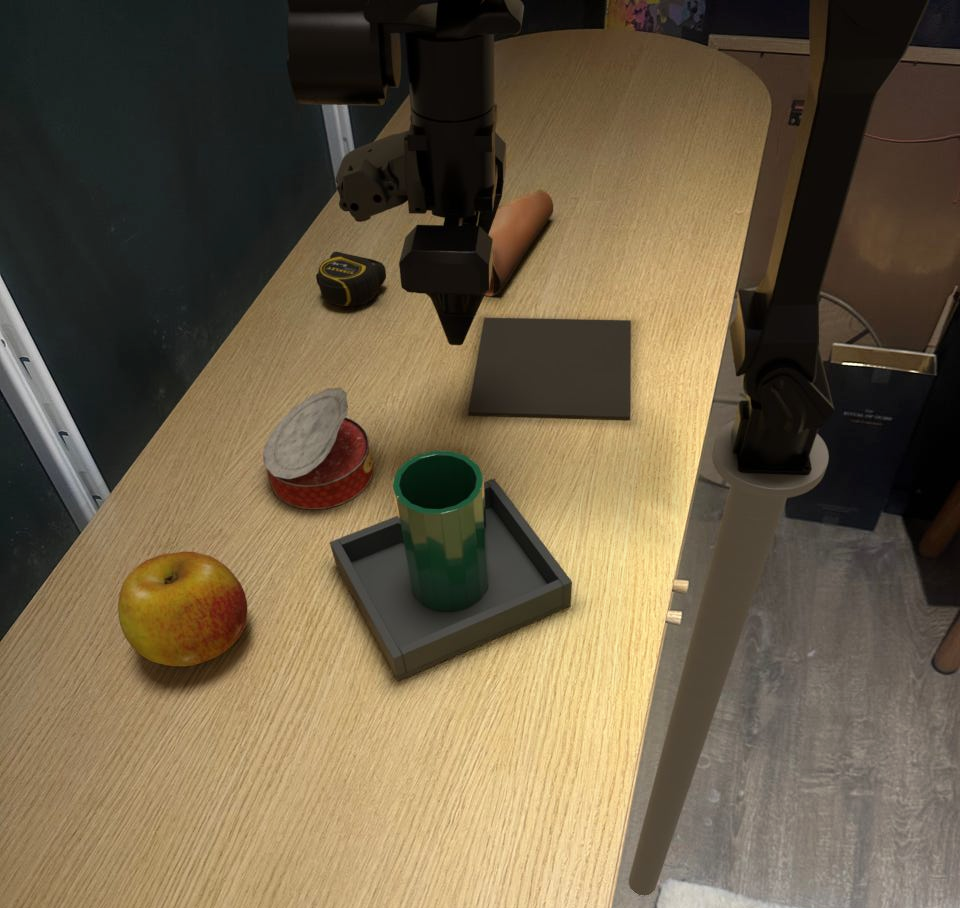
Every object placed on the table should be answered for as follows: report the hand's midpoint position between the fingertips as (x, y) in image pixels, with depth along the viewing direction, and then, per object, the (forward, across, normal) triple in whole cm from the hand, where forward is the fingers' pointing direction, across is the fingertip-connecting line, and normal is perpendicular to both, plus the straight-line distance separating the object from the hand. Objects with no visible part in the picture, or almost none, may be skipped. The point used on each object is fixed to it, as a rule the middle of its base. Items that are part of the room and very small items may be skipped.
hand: (461, 310), depth 70 cm
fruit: (+15, +24, -20) cm, 35 cm away
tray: (+15, +17, 0) cm, 23 cm away
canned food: (+15, +4, -14) cm, 21 cm away
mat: (+14, -12, +8) cm, 21 cm away
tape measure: (+15, -26, -16) cm, 34 cm away
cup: (+15, +17, 0) cm, 23 cm away
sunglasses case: (+15, -35, 0) cm, 38 cm away
